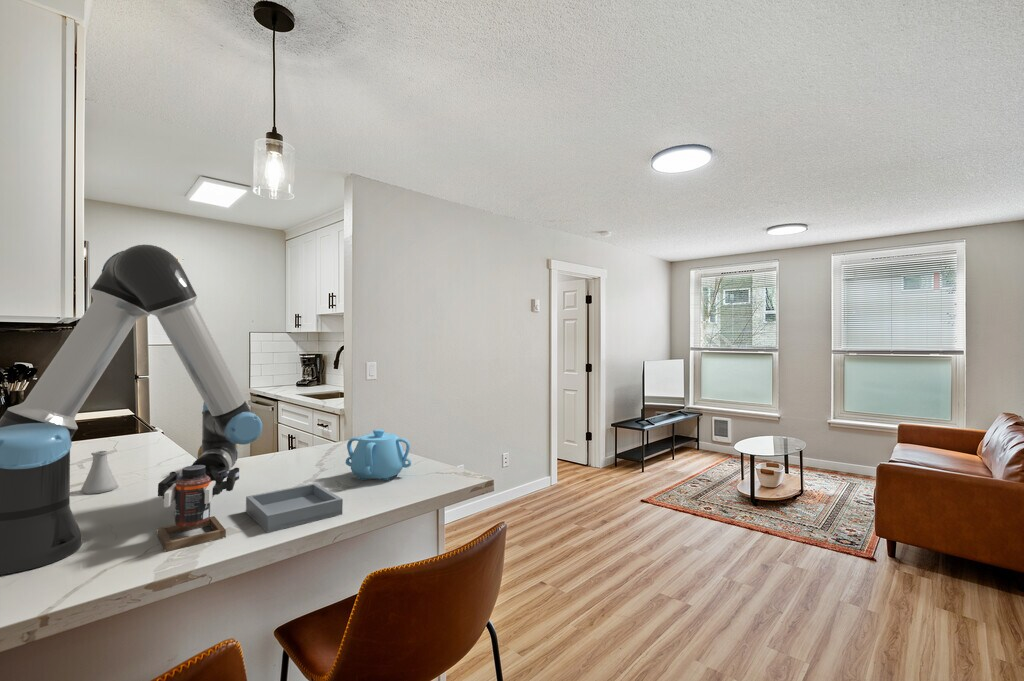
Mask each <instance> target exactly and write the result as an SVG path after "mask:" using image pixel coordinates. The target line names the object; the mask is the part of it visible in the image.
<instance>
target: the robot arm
mask: <svg viewBox="0 0 1024 681" xmlns="http://www.w3.org/2000/svg"><path fill="white" fill-rule="evenodd" d="M89 293H90V295H91V297H92V302H91V304H90V305H89V306H88V308H87V309H86V311H84V314H83V315H82V316H81V318H80V319H79V321H78V322H77V323H76V325H75V327H74V328H73V330H72V331H71V333H70V334H69V335H68V337H67V339H65V342H64V343H63V344H62V346H61V347H60V349H59V350H58V351H57V353H56V354H55V356H54V357H53V358H52V360H51V362H50V363H49V365H48V366H47V367H46V368H45V371H43V373H42V374H41V376H40V378H39V379H38V381H37V382H36V383H35V385H34V387H33V388H32V389H31V391H30V392H29V394H28V395H27V397H26V398H25V399H24V401H23V402H21V403H19V404H16V405H13V406H10V407H7V409H6V410H5V412H4V414H2V416H1V417H0V576H1V575H7V574H13V573H19V572H24V571H28V570H32V569H36V568H39V567H42V566H47V565H49V564H52V563H54V562H57V561H60V560H63V559H65V558H66V557H69V556H71V555H73V554H74V553H76V552H77V551H79V549H81V548H82V544H83V541H82V540H83V537H82V536H83V535H82V531H81V529H80V526H79V525H78V522H77V521H76V520H77V519H76V518H75V516H74V513H73V511H72V509H71V504H70V503H71V499H70V498H71V497H70V496H71V493H70V492H71V490H70V489H71V482H70V481H71V448H72V443H73V442H72V438H73V437H74V435H75V433H76V432H77V430H78V428H79V427H78V425H77V422H76V420H75V418H76V415H77V414H78V412H79V411H80V409H82V407H83V405H84V403H85V402H86V400H87V399H88V397H89V396H90V394H91V393H92V391H93V389H94V388H95V386H96V385H97V383H98V381H99V380H100V379H101V377H102V375H103V374H104V372H105V371H106V369H107V367H108V366H109V364H111V361H112V360H113V358H114V356H115V355H116V353H117V352H118V351H119V349H120V347H121V346H122V345H123V343H124V341H125V340H126V338H127V337H128V335H129V333H130V332H131V330H132V328H133V327H134V326H135V324H136V322H137V321H138V320H140V319H142V318H146V317H150V315H152V316H155V317H156V318H157V319H158V322H159V324H160V326H161V327H162V329H163V331H164V333H165V334H166V336H167V338H168V339H169V342H170V343H171V345H172V347H173V348H174V350H175V352H176V355H177V356H178V358H179V359H180V361H181V362H182V365H183V366H184V369H185V370H186V372H187V374H188V375H189V376H190V380H192V383H193V384H194V386H195V388H196V389H197V391H198V394H199V395H200V397H201V399H202V401H203V405H202V412H201V414H202V426H201V427H202V433H201V434H202V436H201V437H202V438H201V445H202V455H201V456H200V457H199V458H198V457H197V459H196V460H195V461H193V463H192V464H191V466H192V465H204V466H205V467H206V472H205V473H206V475H207V476H209V477H210V479H211V482H210V484H209V485H208V487H207V488H206V489H205V504H209V503H210V504H211V501H212V500H213V498H214V497H215V496H218V495H220V494H221V493H223V491H224V490H225V491H226V492H232V491H233V489H234V486H235V483H236V482H237V481H238V480H240V467H234V466H235V464H236V462H237V460H238V454H239V452H238V450H237V448H236V444H237V445H241V446H242V445H249V444H252V443H254V442H255V441H256V440H258V438H259V437H260V436H261V434H262V432H263V422H262V420H261V418H260V417H259V416H258V415H257V414H256V413H254V412H253V411H252V410H251V409H250V407H249V405H248V403H247V401H246V400H245V398H244V396H243V393H242V392H241V390H240V388H239V386H238V384H237V382H236V381H235V378H234V376H233V374H232V373H231V371H230V368H229V367H228V365H227V363H226V360H225V358H224V357H223V355H222V353H221V352H220V350H219V347H218V346H217V345H218V344H216V341H215V339H214V338H213V335H212V333H211V332H210V329H209V328H208V326H207V324H206V322H205V320H204V318H203V317H202V315H201V314H202V313H201V312H200V311H199V308H198V307H197V305H196V301H197V298H198V296H197V293H196V292H195V289H194V287H193V286H192V284H191V281H190V279H189V277H188V275H187V274H186V272H185V270H184V268H183V266H182V265H181V263H180V262H179V260H178V259H177V258H176V257H175V255H173V254H172V253H171V252H170V251H168V250H166V249H165V248H162V247H161V246H157V245H152V244H137V245H134V246H131V247H128V248H126V249H124V250H121V251H119V252H116V253H115V254H113V255H111V256H110V257H109V258H108V259H107V260H106V261H105V263H104V264H103V267H102V269H101V273H100V275H99V277H98V278H97V279H96V281H95V282H94V283H93V285H92V286H91V288H90V289H89ZM182 476H183V475H182V473H180V472H177V471H171V472H169V475H168V476H166V477H165V478H163V480H161V481H160V482H159V483H157V497H162V500H163V507H164V508H169V507H170V506H171V505H172V503H174V502H175V499H176V482H177V481H178V480H179V479H180V478H181V477H182ZM225 479H226V480H225Z"/></svg>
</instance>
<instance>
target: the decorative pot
mask: <svg viewBox="0 0 1024 681" xmlns="http://www.w3.org/2000/svg"><path fill="white" fill-rule="evenodd" d="M372 432H373V433H372ZM372 432H371V433H368V434H365V435H362V436H361V437H360V436H353V437H352V438H350V439H349V440H348V442H347V444H346V448H347V453H348V455H349V456H348V457H347V458H346V459H345V464H346V466H348V467H350V470H351V472H352V474H353V475H354V477H356V478H359V480H360V481H361V480H363V481H365V480H369V479H380V480H381V481H389V480H391V478H392V477H394V476H396V475H398V474H400V473H401V471H402V470H403V468H404V469H405V468H406V469H407V468H409V467H411V466H412V460H411V459H410V458H408V455H409V454H410V451H411V450H410V449H411V443H410V442H409V440H408V439H407V438H403V437H398V435H397V434H396V433H388V432H385V429H383V428H382V429H381V428H377V429H373V430H372ZM355 441H357V443H356V446H355V448H354V451H353V448H352V443H354V442H355ZM401 442H402V443H404V444H405V445H406V448H405V452H404V449H403V446H402V443H401ZM406 462H408V463H406Z"/></svg>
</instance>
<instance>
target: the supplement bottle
mask: <svg viewBox="0 0 1024 681" xmlns="http://www.w3.org/2000/svg"><path fill="white" fill-rule="evenodd" d="M205 472H206V467H205V466H204V465H192V464H191V465H188V466H184V467H182V469H181V474H182V475H183V476H182V477H181V478H180V479H179V480H178V481H177V482H176V499H175V500H174V502H175V504H174V505H175V506H174V508H175V509H174V510H175V511H174V524H176V525H177V526H179V527H192V526H197V525H201V524H204V523H206V522H207V521H208V520H209V518H210V517H211V502H210V503H209V504H205V489H206V488H207V487H208V485H209V484H210V482H211V479H210V477H209V476H207V475H206V473H205Z"/></svg>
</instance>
